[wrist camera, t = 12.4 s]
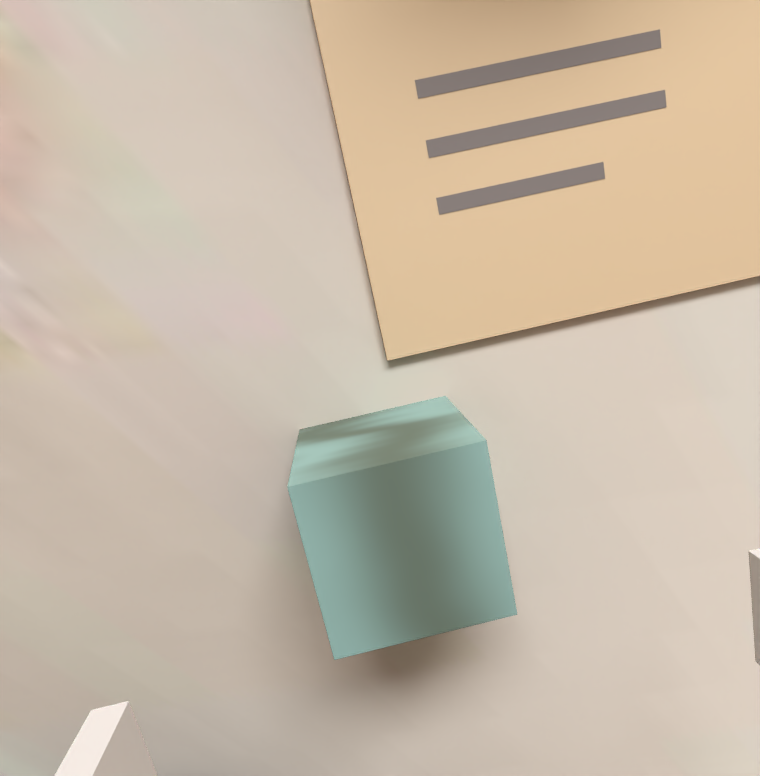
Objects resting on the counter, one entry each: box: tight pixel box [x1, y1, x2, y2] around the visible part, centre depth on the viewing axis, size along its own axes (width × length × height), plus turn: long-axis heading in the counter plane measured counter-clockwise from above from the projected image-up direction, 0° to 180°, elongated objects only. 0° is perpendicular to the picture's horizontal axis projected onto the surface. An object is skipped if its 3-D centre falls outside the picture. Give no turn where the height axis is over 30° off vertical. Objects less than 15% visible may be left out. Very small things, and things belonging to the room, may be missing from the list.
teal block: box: [288, 396, 517, 660], centre depth 19 cm, size 6×6×6 cm
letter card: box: [310, 0, 760, 360], centre depth 19 cm, size 18×16×1 cm
